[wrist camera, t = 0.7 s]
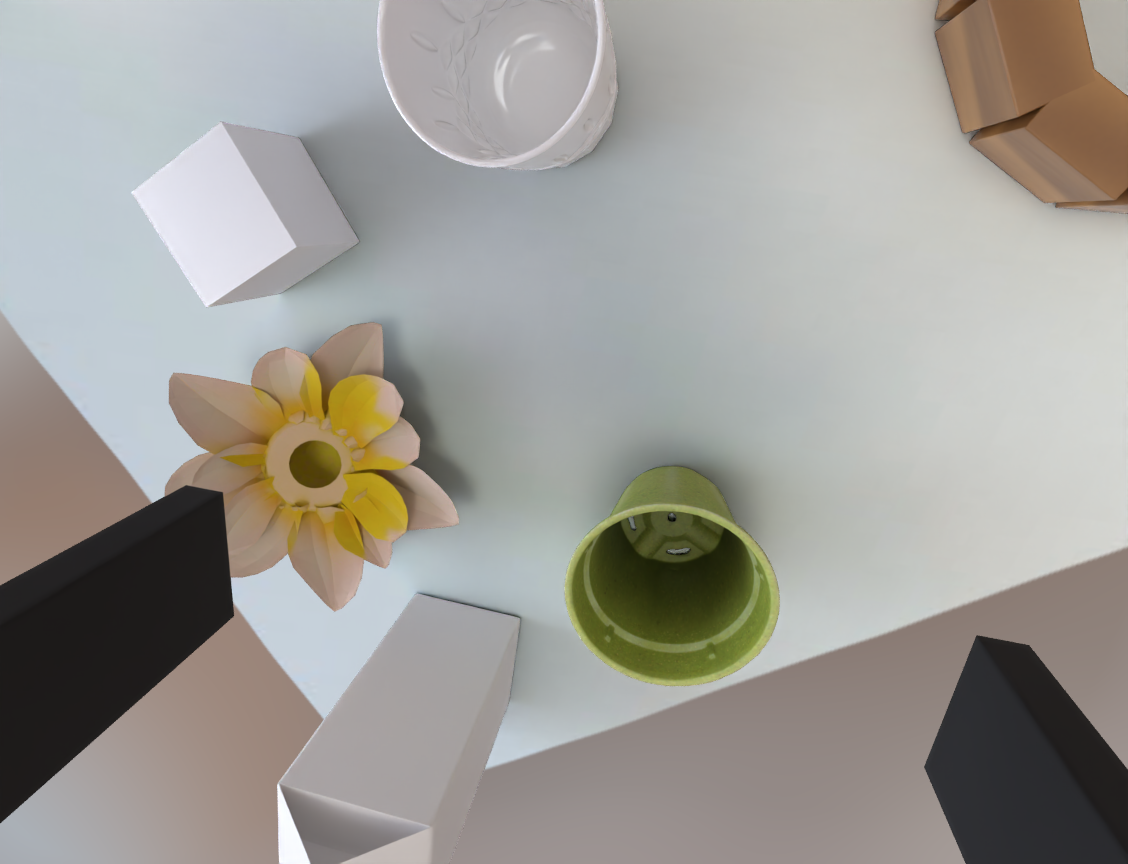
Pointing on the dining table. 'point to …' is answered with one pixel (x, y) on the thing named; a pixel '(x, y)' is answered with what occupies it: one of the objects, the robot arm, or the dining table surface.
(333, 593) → the decorative flower
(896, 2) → the dining table surface
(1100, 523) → the dining table surface
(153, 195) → the white cube
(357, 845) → the milk carton
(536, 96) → the white cup
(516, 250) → the dining table surface
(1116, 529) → the dining table surface
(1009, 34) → the ring
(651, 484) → the plant pot
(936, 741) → the robot arm
